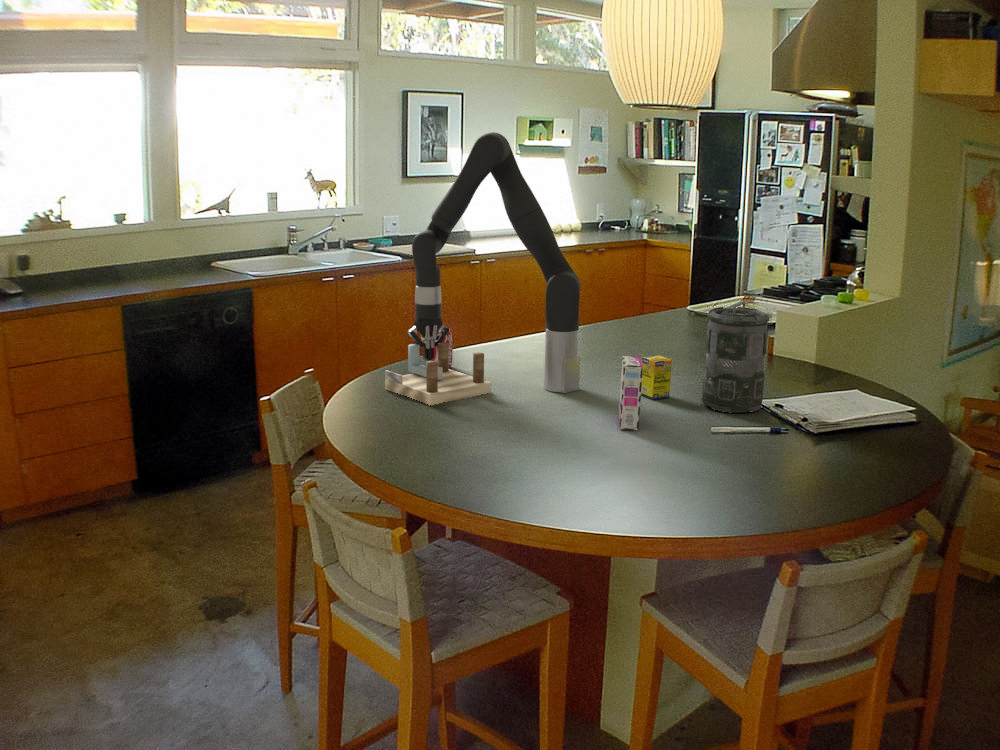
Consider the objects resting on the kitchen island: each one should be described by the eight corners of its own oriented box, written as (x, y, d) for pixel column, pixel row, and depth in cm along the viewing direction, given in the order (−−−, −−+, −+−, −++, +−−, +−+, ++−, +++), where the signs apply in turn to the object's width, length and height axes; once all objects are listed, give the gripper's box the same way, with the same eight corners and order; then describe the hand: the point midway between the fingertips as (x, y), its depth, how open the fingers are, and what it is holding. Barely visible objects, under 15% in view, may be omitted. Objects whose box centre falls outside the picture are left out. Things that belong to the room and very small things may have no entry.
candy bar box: (640, 431, 237) (643, 366, 233) (619, 430, 237) (622, 365, 233) (638, 418, 248) (641, 355, 244) (618, 417, 248) (621, 355, 244)
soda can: (442, 371, 291) (442, 332, 288) (424, 367, 295) (424, 329, 292) (457, 367, 297) (457, 328, 294) (439, 363, 301) (439, 325, 298)
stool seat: (491, 392, 269) (491, 354, 266) (430, 405, 256) (430, 365, 253) (444, 377, 284) (444, 341, 282) (385, 389, 271) (384, 350, 268)
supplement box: (652, 400, 264) (654, 361, 261) (639, 395, 269) (641, 356, 266) (670, 398, 267) (672, 359, 264) (657, 392, 272) (659, 354, 269)
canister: (750, 418, 249) (759, 311, 242) (692, 408, 257) (699, 304, 250) (769, 404, 262) (778, 302, 255) (713, 395, 270) (720, 295, 263)
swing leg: (445, 379, 269) (445, 352, 267) (436, 380, 267) (436, 354, 265) (415, 369, 280) (415, 343, 278) (406, 370, 278) (406, 345, 276)
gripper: (412, 305, 269) (413, 365, 274) (454, 301, 276) (454, 360, 280) (401, 300, 276) (402, 360, 280) (443, 297, 282) (443, 355, 287)
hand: (428, 360), depth 280 cm, fingers closed
